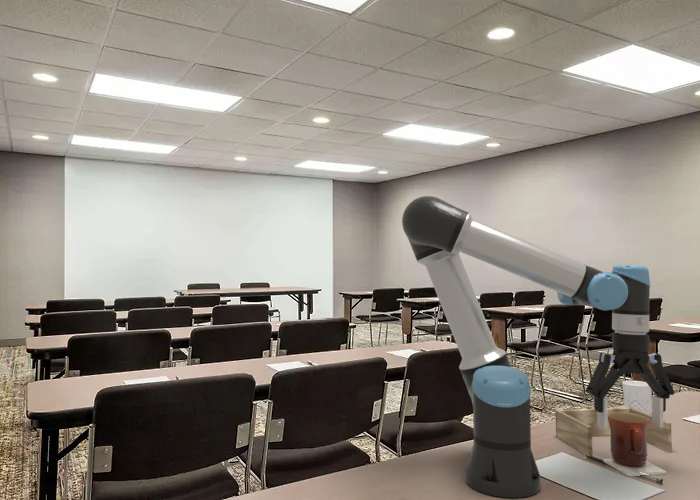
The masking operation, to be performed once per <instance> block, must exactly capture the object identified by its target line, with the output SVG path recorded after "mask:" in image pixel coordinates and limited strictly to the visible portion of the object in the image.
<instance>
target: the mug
mask: <svg viewBox="0 0 700 500" xmlns="http://www.w3.org/2000/svg"><path fill="white" fill-rule="evenodd" d="M649 421H650V420H649V419H648V418H647V417H645V416H642V415H638V414H633V413H625V412H613V413H609V414H608V422H609V425H610V430H611V435H610V450H609V451H610V455H611V458H612V459H613V460H614V461H615V462H617V463H618V464H621V465H624V466H629V467H640V466H643V465H645V464H646V461H647V460H648V445H647V443H648V442H647V441H646V432H647V428H648V425H649Z"/></svg>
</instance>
